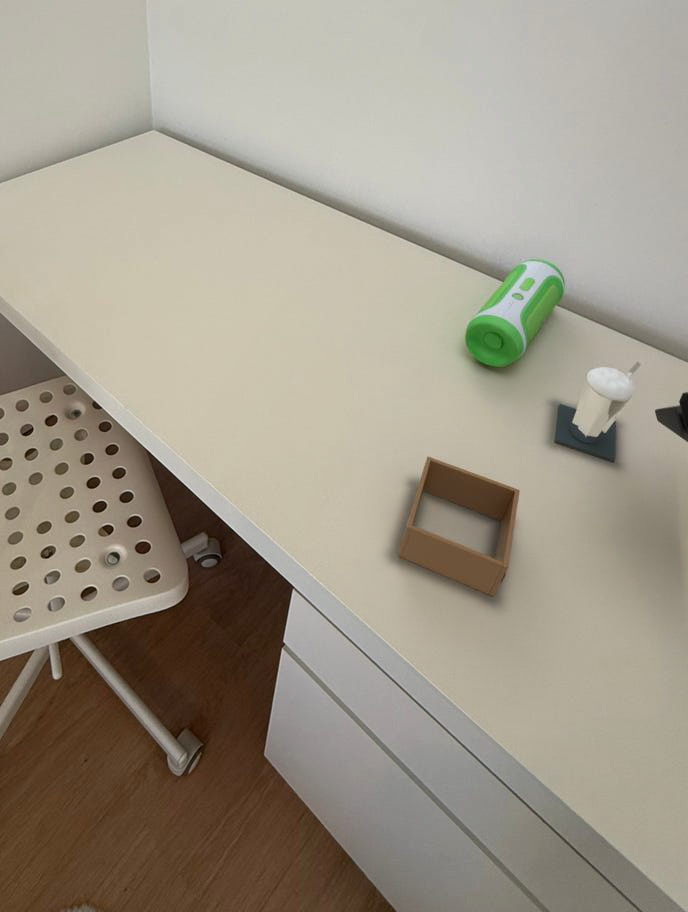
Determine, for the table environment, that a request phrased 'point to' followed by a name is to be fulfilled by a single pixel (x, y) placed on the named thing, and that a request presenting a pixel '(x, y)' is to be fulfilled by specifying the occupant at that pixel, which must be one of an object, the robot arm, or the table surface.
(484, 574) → the carton
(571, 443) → the mat
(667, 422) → the robot arm
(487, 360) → the speaker
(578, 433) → the milkshake
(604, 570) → the table surface
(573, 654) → the table surface
